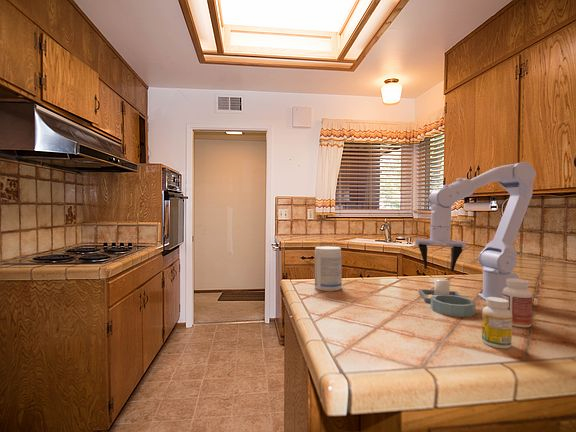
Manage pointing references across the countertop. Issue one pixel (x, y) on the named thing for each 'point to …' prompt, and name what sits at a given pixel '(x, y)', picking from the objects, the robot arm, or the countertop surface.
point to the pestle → (441, 287)
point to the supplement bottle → (497, 323)
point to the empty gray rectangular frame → (433, 293)
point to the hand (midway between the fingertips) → (438, 269)
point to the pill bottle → (519, 301)
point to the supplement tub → (328, 268)
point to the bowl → (453, 305)
